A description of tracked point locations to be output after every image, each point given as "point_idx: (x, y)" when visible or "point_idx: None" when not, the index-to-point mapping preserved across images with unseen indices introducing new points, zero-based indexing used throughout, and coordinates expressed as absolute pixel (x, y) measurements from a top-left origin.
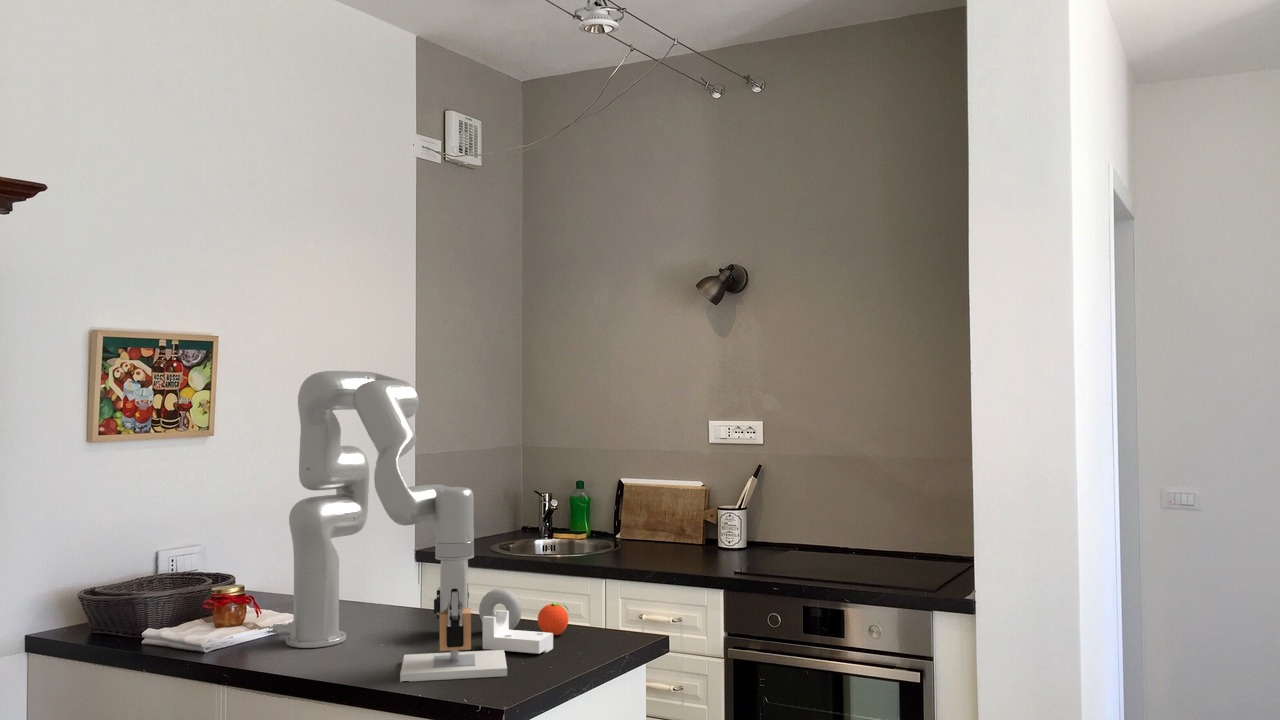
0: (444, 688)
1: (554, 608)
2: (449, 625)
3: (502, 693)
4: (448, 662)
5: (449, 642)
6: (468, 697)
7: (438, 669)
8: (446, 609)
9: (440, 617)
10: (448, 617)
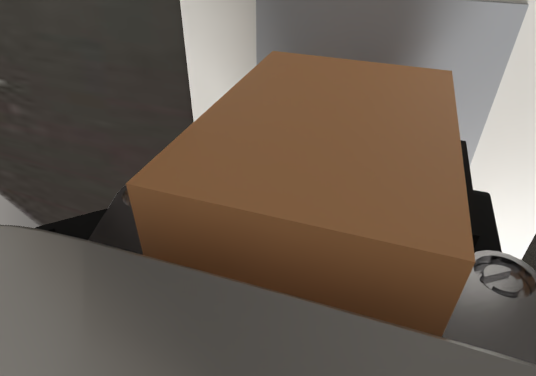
0: (89, 23)
1: None
2: (128, 195)
3: (65, 187)
4: None
5: None
6: (15, 94)
7: (222, 14)
8: (431, 322)
9: (151, 174)
10: (93, 234)
